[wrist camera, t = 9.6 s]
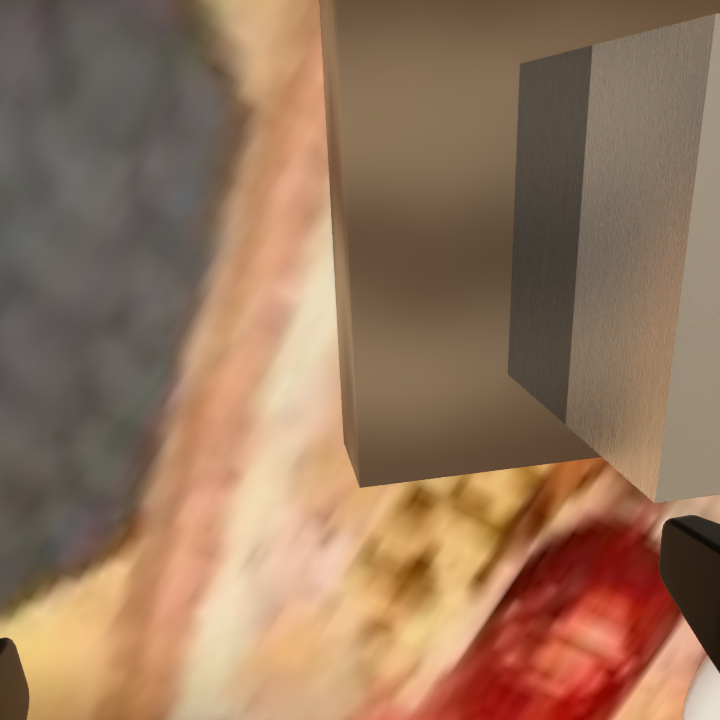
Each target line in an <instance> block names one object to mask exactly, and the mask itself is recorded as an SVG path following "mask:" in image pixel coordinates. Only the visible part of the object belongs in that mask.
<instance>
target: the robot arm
mask: <svg viewBox="0 0 720 720" xmlns="http://www.w3.org/2000/svg"><path fill="white" fill-rule="evenodd" d="M659 573H660V577H661V579H662V582H663V584H664V585H665V587H666V589H667V590H668V592H669V594H670V595H671V597H672V598H673V600H674V602H675V603H676V605H677V606H678V608H679V610H680V611H681V613H682V614H683V616H684V618H685V619H686V621H687V623H688V624H689V626H690V627H691V629H692V631H693V632H694V634H695V635H696V637H697V639H698V640H699V642H700V643H701V645H702V647H703V648H704V650H705V651H706V653H707V655H708V656H709V658H710V660H711V661H712V663H713V664H714V666H715V667H716V669H717V670H718V672H719V673H720V524H718V523H715V522H713V521H710V520H707V519H704V518H701V517H698V516H695V515H688V516H682V517H677V518H671V519H669V520H667V521H666V522H665V523H664V525H663V529H662V538H661V547H660V557H659ZM28 709H29V688H28V684H27V681H26V678H25V674H24V671H23V668H22V665H21V661H20V658H19V655H18V652H17V648H16V646H15V644H14V642H13V641H12V640H11V639H9V638H0V720H27V715H28Z"/></svg>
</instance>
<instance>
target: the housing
mask: <svg viewBox="0 0 720 720" xmlns="http://www.w3.org/2000/svg"><path fill="white" fill-rule="evenodd" d="M508 375H509V376H510V377H512V378H513V379H514V380H515V381H516V382H517V383H518V384H520V385H521V386H522V387H523V388H524V389H525V390H526V391H528V392H529V393H530V394H531V395H532V396H533V397H534V398H535V399H537V400H538V401H539V402H540V403H541V404H542V405H543V406H545V407H546V408H547V409H548V410H549V411H550V412H551V413H553V414H554V415H555V416H556V417H557V418H558V419H559V420H561V421H562V422H563V423H564V424H565V425H566V426H567V427H569V428H570V429H571V430H572V431H573V432H574V433H575V434H576V435H578V436H579V437H580V438H581V439H582V440H583V441H584V442H586V443H587V444H588V445H589V446H590V447H591V448H592V449H594V450H595V451H596V452H597V453H598V454H599V455H600V456H602V457H603V458H604V459H605V460H606V461H607V462H608V463H610V464H611V465H612V466H613V467H614V468H615V469H616V470H617V471H619V472H620V473H621V474H622V475H623V476H624V477H625V478H627V479H628V480H629V481H630V482H631V483H632V484H633V485H635V486H636V487H637V488H638V489H639V490H640V491H641V492H643V493H644V494H645V495H646V496H647V497H648V498H649V499H651V500H652V501H653V502H654V503H660V502H667V501H675V500H682V499H689V498H697V497H704V496H712V495H719V494H720V14H712V15H708V16H704V17H700V18H697V19H693V20H689V21H685V22H681V23H677V24H673V25H669V26H665V27H661V28H658V29H654V30H650V31H646V32H642V33H638V34H634V35H630V36H626V37H622V38H618V39H615V40H611V41H607V42H603V43H599V44H595V45H591V46H587V47H583V48H579V49H576V50H572V51H568V52H564V53H560V54H556V55H552V56H548V57H544V58H540V59H536V60H533V61H529V62H525V63H521V64H520V72H519V98H518V123H517V149H516V175H515V201H514V227H513V253H512V278H511V304H510V330H509V356H508Z"/></svg>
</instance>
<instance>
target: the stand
mask: <svg viewBox="0 0 720 720" xmlns="http://www.w3.org/2000/svg"><path fill="white" fill-rule="evenodd" d="M712 14H720V0H320V18H321V36H322V54H323V72H324V90H325V108H326V126H327V144H328V162H329V180H330V198H331V216H332V234H333V252H334V270H335V288H336V306H337V325H338V343H339V361H340V379H341V397H342V415H343V433H344V444H345V447H346V449H347V452H348V455H349V458H350V461H351V464H352V467H353V469H354V472H355V475H356V478H357V481H358V484H359V487H360V488H362V487H370V486H378V485H385V484H393V483H401V482H409V481H417V480H425V479H433V478H440V477H448V476H456V475H464V474H472V473H480V472H487V471H495V470H503V469H511V468H519V467H527V466H534V465H542V464H550V463H558V462H566V461H574V460H581V459H589V458H597V457H602V456H600V455H599V454H598V453H597V452H596V451H595V450H594V449H592V448H591V447H590V446H589V445H588V444H587V443H586V442H584V441H583V440H582V439H581V438H580V437H579V436H578V435H576V434H575V433H574V432H573V431H572V430H571V429H570V428H569V427H567V426H566V425H565V424H564V423H563V422H562V421H561V420H559V419H558V418H557V417H556V416H555V415H554V414H553V413H551V412H550V411H549V410H548V409H547V408H546V407H545V406H543V405H542V404H541V403H540V402H539V401H538V400H537V399H535V398H534V397H533V396H532V395H531V394H530V393H529V392H528V391H526V390H525V389H524V388H523V387H522V386H521V385H520V384H518V383H517V382H516V381H515V380H514V379H513V378H512V377H510V376H509V375H508V356H509V330H510V304H511V278H512V253H513V227H514V201H515V175H516V149H517V123H518V98H519V72H520V64H521V63H525V62H529V61H533V60H536V59H540V58H544V57H548V56H552V55H556V54H560V53H564V52H568V51H572V50H576V49H579V48H583V47H587V46H591V45H595V44H599V43H603V42H607V41H611V40H615V39H618V38H622V37H626V36H630V35H634V34H638V33H642V32H646V31H650V30H654V29H658V28H661V27H665V26H669V25H673V24H677V23H681V22H685V21H689V20H693V19H697V18H700V17H704V16H708V15H712Z"/></svg>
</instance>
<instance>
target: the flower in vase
mask: <svg viewBox="0 0 720 720" xmlns="http://www.w3.org/2000/svg"><path fill="white" fill-rule="evenodd" d="M682 720H720V673H719V672H718V670H717V669H716V667H715V666H714V664H713V663H712V661H711V660H710V658H709V656H708V655H707V656H706V657H705V659H704V660H703V662H702V663H701V665H700V667H699V668H698V670H697V672H696V673H695V675H694V678H693V680H692V682H691V684H690V686H689V689H688V692H687V695H686V698H685V701H684V707H683V713H682Z"/></svg>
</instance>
